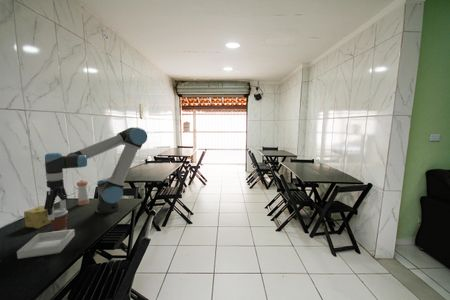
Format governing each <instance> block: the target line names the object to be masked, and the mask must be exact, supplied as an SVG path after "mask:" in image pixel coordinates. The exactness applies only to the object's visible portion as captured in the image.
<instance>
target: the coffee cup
mask: <svg viewBox="0 0 450 300" xmlns="http://www.w3.org/2000/svg"><path fill="white" fill-rule="evenodd" d="M68 214H69V211H68V210H67V208H66V209H65V208H60V207H59V208H54V220H51V223H50V225H51V228H52V229H51V230H52V232H54V231H63V230H67V227H68V223H67V222H68V221H67V220H68V219H67V217H68Z"/></svg>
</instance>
